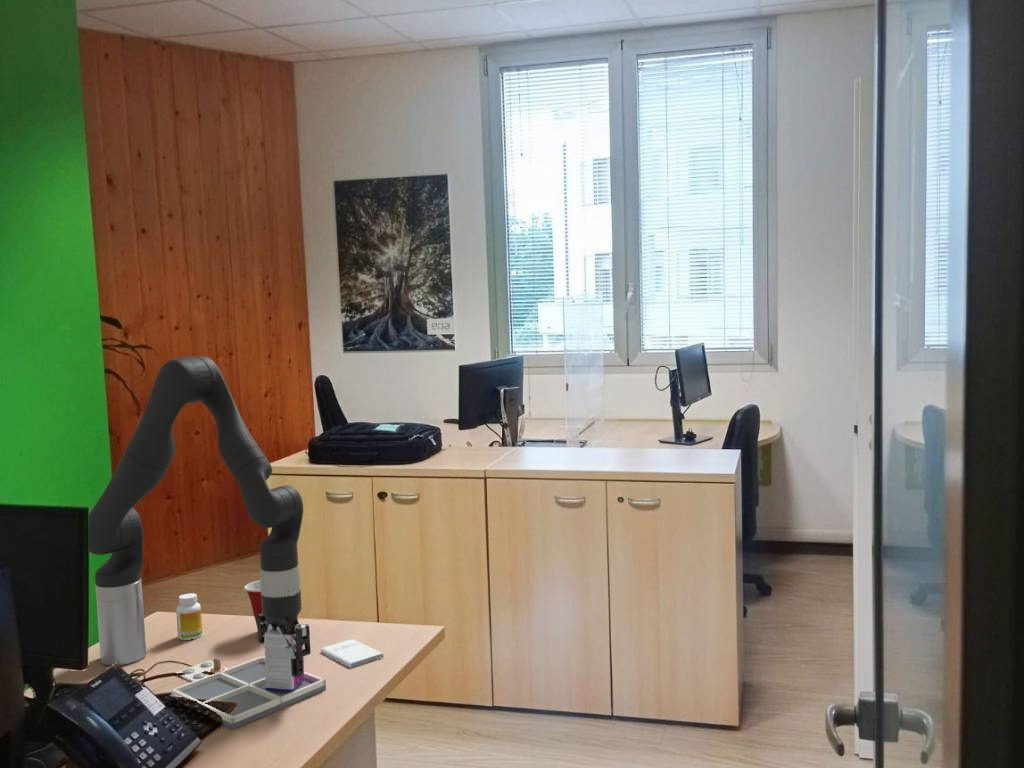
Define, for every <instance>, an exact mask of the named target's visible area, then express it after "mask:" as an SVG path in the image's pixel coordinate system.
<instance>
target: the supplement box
mask: <svg viewBox="0 0 1024 768" xmlns="http://www.w3.org/2000/svg"><path fill="white" fill-rule="evenodd" d="M294 634H295V633H292V634H291V635H287V634H285V637H286V639H287V640H288V641H289V643H290V644H291V643H292V642H293V641H296V637H295V636H294ZM264 641H265V648H264V656H265V679H266V691H281V692H292V691H293V690H294V689H295V688H296V687H297V686H298V685H299V684H301V683H302V682H303V681H304V672H305V667H304V666H305V662H304V661H305V660H304V659H305V658H304V657H305V656H303V669H304V671H303V674H302V675H301V676H298V677H293V676H292V671H291V659H292V658H291V655H290V653H289V649H286V648H285V647H284V637H283V635H281V634H278V633H277V630H273V631H270V630H269V631H267V632H266V633H265V634H264ZM302 646H303V647H304V645H302ZM293 648H294V650H295V652H296V646H293Z"/></svg>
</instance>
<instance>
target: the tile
mask: <svg viewBox="0 0 1024 768" xmlns="http://www.w3.org/2000/svg"><path fill="white" fill-rule="evenodd" d="M229 668H230V667H226V666H224V665H222V661H221V657H215V658H213V661H212V660H207V661H205V662H200V663H199V664H195V665H193V666H190V667H187V668H185V669H181V670H179V671H175V673H177V674H178V673H183V674H185V675H182V677H183V678H182V677H181V678H182V679H184V680H186V681H189V682H190V683H191V682H193V681H196V680H199V679H202V678H204V677H207V676H210V675H208V674H204V673H202V672H204V671H208V672H213V673H218V672H221V671H223V670H226V669H229Z"/></svg>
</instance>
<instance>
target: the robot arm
mask: <svg viewBox="0 0 1024 768" xmlns="http://www.w3.org/2000/svg"><path fill="white" fill-rule="evenodd" d="M232 395H233V394H232V393H231V391H230V389H229V386H228V384H227V382H226V381H225V378H224V376H223V374H222V372H221V370H220V368H219V366H218V365H217V363H215V361H213V359H211V358H209V357H207V356H205V355H193V356H186V357H185V356H184V357H177V358H172V359H170V360H168V361H166V362H165V363H163V365H162V366H161V368H160V369H159V370H158V372H157V375H156V378H155V379H154V383H153V386H152V389H151V391H150V394H149V397H148V400H147V403H146V405H145V409H144V410H143V413H142V414H141V417H140V420H139V422H138V424H137V426H136V428H135V431H134V432H133V435H132V436H131V438H130V440H129V442H128V444H127V446H126V447H125V449H124V451H123V454H122V456H121V458H120V460H119V463H118V465H117V467H116V469H115V471H114V472H113V474H112V477H111V478H110V480H109V481H108V484H107V486H106V487H105V489H104V491H103V492H102V494H101V496H100V498H99V499H98V500H97V502H96V503H95V505H94V506H93V508H92V510H91V511H90V512H89V514H88V515H89V551H88V553H90V554H92V555H96V556H100V555H101V556H102V555H103V556H105V555H108V554H111V555H110V557H109V558H108V559H107V560H106V561H105V562H104V563H103V564H102V565H101V566H100V567H99V568H98V569H97V570H96V571H95V573H94V583H95V585H94V586H95V596H96V597H95V598H96V611H97V613H96V614H97V627H98V641H99V653H100V654H99V655H100V663H101V664H103V665H105V666H113V665H112V664H115V663H117V664H119V665H118V666H123V665H129V664H133V663H136V662H138V661H140V660H142V659H143V658H145V657H146V656H147V644H146V643H147V642H146V627H145V626H146V625H145V614H144V599H143V598H144V597H143V585H142V583H143V582H142V570H143V568H144V567H143V566H144V529H143V523H142V519H141V516H140V514H139V513H138V511H137V509H135V508H134V506H136V504H138V503H139V502H140V501H141V500H143V498H145V497H146V496H147V495H148V494H149V493H150V492H151V491H152V490H153V489H155V488H156V486H158V484H160V482H161V481H162V480H163V478H164V477H165V475H166V473H167V472H168V470H169V467H170V465H171V463H172V462H173V460H174V457H175V453H176V442H175V438H174V434H173V426H174V423H175V422H176V419H177V418H178V415H179V414H180V412H181V411H182V409H183V408H184V407H185V406H186V405H187V404H194V403H199V402H201V403H202V404H204V406H205V408H207V410H209V412H210V413H211V415H212V416H213V419H214V422H215V425H216V435H217V445H218V451H219V453H220V456H221V458H222V460H223V462H224V464H225V465H226V466H227V469H228V470H229V471H230V473H231V474H232V475H233V477H234V480H236V482H237V483H238V485H239V489H240V492H241V496H242V498H243V501H244V505H245V507H246V511H247V513H248V515H249V517H250V519H251V520H252V521H253V522H254V523H255V524H256V525H258V526H260V527H262V528H264V529H271V531H270V532H269V534H268V535H267V536H266V537H265V538H264V539H263V540H262V541H261V542H260V545H259V549H260V550H259V554H260V568H261V569H260V579H259V580H260V583H261V602H262V613H261V614H258V615H257V624H256V628H257V642H258V644H260V645H261V644H263V645H262V646H263V648H264V649H265V641H264V636H263V632H264V631H266V632H267V631H269V630H270V631H273V630H277V633H278V634H281V635H283V637H284V647H285V648H286V649H289V653H290V655H291V658H292V659H291V671H292V676H293V677H298V676H301V675H302V674H303V671H304V672H305V668H304V669H303V656H304V657H306V656H308V655H311V636H310V634H311V633H310V625H309V624H307V623H306V624H303V625H302V624H300V623H299V619H298V616H299V614H300V613H301V611H302V609H303V608H302V591H301V590H302V587H301V586H302V585H301V575H300V568H299V554H298V541H299V537H300V534H301V533H300V532H301V529H302V528H301V527H302V521H303V517H304V503H303V498H302V496H301V494H300V492H299V491H298V490H297V489H296V488H295V487H293V486H291V485H282V486H277V487H274V488H270V487H269V486H268V483H267V480H268V479H269V478H270V477H271V475H272V473H273V467H272V465H271V463H270V461H269V460H268V458H267V456H266V455H265V453H264V452H263V451H262V449H261V448H260V446H259V445H258V443H257V442H256V441H255V439H254V438H253V436H252V434H251V433H250V430H249V429H248V427H247V426H246V423H245V422H244V419H243V418H242V415H241V414H240V411H239V408H238V406H237V404H236V402H235V400H234V398H233V396H232ZM292 633H295V634H294V636H295V637H296V641H293V642H292V643H291V644H290V643H289V641H288V640H287V639H286V637H285V634H287V635H291V634H292ZM302 645H303V646H302ZM293 646H296V652H295V650H294V648H293Z"/></svg>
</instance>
